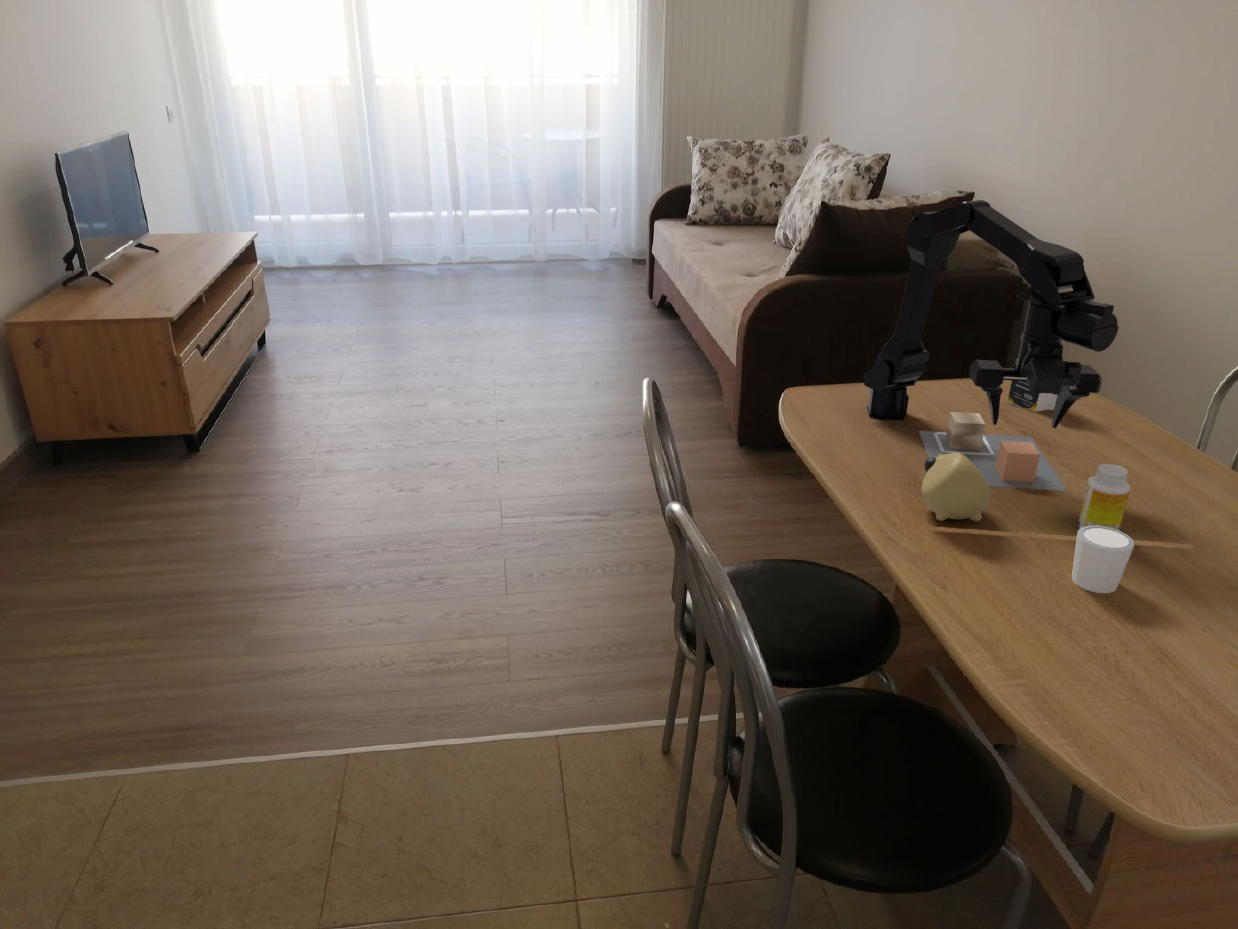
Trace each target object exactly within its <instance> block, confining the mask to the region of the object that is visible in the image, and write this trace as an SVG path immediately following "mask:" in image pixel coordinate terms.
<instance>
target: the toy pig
mask: <svg viewBox="0 0 1238 929" xmlns="http://www.w3.org/2000/svg"><path fill="white" fill-rule="evenodd" d="M923 465H924V469H923V474H924V475H923V476H924V478H923V479H922V483H921V489H920V490H921V496H922V498H923V500H924V501H923V502H924V503H925V504H926V506H927V507H928V510H929V511H930V512H933V513H934V514H935V518H936V520H938V521H940V522H941V521H945V520H947V519H950V520H965V519H970V520H972V521H973V522H979V521H981V519H982V517H983V515H982V512H983V510H985V509H986V508H987V506H988V505H989V503H990V501H991V498H992V493H993V492H992V489H991V487H990V486H989V485H988V483H987V481H986V480H985V478H984V477H983V475H982V474H981V473H980V471H979V470H978V469H977V467H976V466H975V465H974V464H973V463H972V461H971V460H970V459H969V458H967V457H966V456H964V455H963V454H961V453H959V452H955V453H951V454H944V455H942V454H939V455H938V457H937V458H935V457H932V458H929V457H928V458H927V459H926V460H925V462H924V464H923Z"/></svg>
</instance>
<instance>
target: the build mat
mask: <svg viewBox="0 0 1238 929" xmlns="http://www.w3.org/2000/svg"><path fill="white" fill-rule="evenodd" d="M918 434H919V437H920V439H921V441H922V443H923V444H922V445H923V447H924V448H925V451H926V454H927V457H928V459H929V458H932V457H935V458H937V457H938V455H939V454H942V455H944V454H951V453H955V452H959V453H961V454H963V455H964V456H966V457H967V458H969V459H970V460H971V461H972V463H973V464H974V465H975V466H976V467H977V469H978V470H979V471H980V473H981V474H982V475H983V477H984V478H985V480H986V481H987V483H988V485H989V487H990V488H991V487H992V488H996V487H997V488H1009V489H1023V490H1024V489H1025V490H1039V491H1040V490H1041V491H1055V492H1056V491H1058V492H1068V490H1067V489H1066V487H1065V485H1064V484H1063V483H1062V481H1061V479H1060V478H1059V476H1058V475H1057V473H1056V471H1054V468H1053V467H1052V465H1051V464H1050V463H1049V461H1048V459H1047V458H1046V457H1045V455H1044V454H1043V451H1041V449H1040V448H1039V446H1038V444H1037V443H1036V441H1035V440H1034V439H1033V437H1032V436H1021V435H1019V436H1018V435H1017V436H1016V435H1003V434H1002V435H1000V434H986V433H984V434H983V440H982V445H981V450H965V449H951V447H950V445H949V443H948V441H947V438H946V435H947V431H946V432H945V431H929V430H918ZM1000 441H1018V442H1032V443H1033V445H1034V446H1035V448H1036V449H1037V451H1038V452H1039V454H1040V457H1039V462H1038V466H1037V471H1036V476H1035V480H1034V482H1019V481H1003V480H1002V479H1001V477H1000V475H999V473H998V472H997V470H996V468H995V467H996V462H997V457H998V452H999V447H1000Z"/></svg>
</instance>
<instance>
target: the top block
mask: <svg viewBox="0 0 1238 929" xmlns="http://www.w3.org/2000/svg"><path fill="white" fill-rule="evenodd" d="M1039 457H1040V454H1039V452H1038V451H1037V449H1036V448H1035V446H1034V445H1033V443H1032V442H1018V441H1000V447H999V452H998V457H997V462H996V467H995V468H996V470H997V472H998V473H999V475H1000V477H1001V479H1002V480H1003V481H1019V482H1034V480H1035V476H1036V471H1037V466H1038V462H1039Z"/></svg>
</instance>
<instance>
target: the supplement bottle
mask: <svg viewBox="0 0 1238 929" xmlns="http://www.w3.org/2000/svg"><path fill="white" fill-rule="evenodd" d="M1128 474H1129V472H1128V470H1127V469H1126V468H1125V467H1123V466H1121V465H1117V464H1113V463H1101V464H1099V465H1098V466H1097V469H1096V473H1095V474H1094V475H1092V476H1090V477H1089V479H1087V480H1088V481H1087V484H1086V487H1085V491H1084V492H1085V493H1084V496H1083V500H1082V505H1081V508H1080V513H1079V518H1078V523H1077V527H1079V529H1080V528H1082V527H1085V526H1104V527H1109V528H1113V529H1116V530H1119V531H1120V529H1121V525H1122V521H1123V517H1124V514H1125V510H1126V506H1127V502H1128V498H1129V494H1130V491H1131V485H1130V484H1129V483H1128V482H1127V479H1128V478H1127V477H1128Z"/></svg>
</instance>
